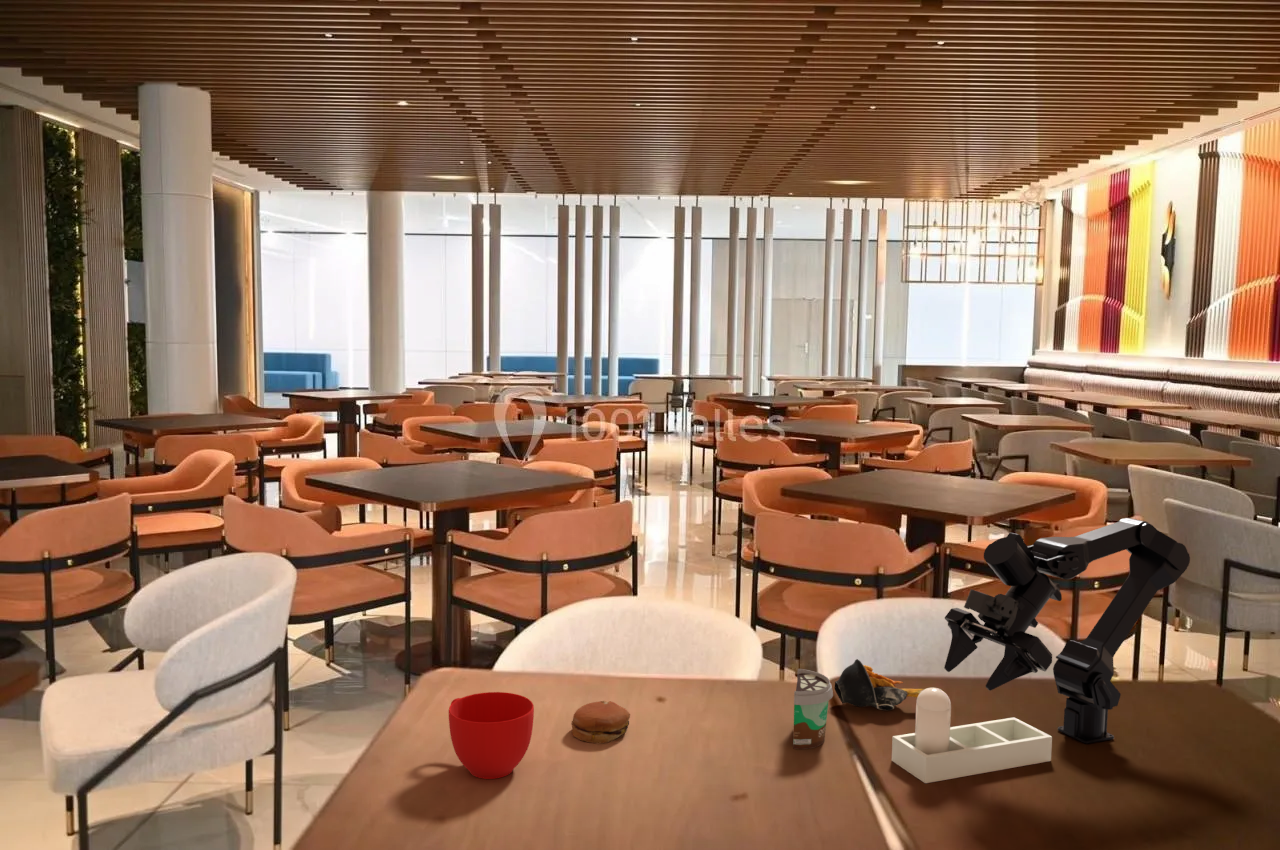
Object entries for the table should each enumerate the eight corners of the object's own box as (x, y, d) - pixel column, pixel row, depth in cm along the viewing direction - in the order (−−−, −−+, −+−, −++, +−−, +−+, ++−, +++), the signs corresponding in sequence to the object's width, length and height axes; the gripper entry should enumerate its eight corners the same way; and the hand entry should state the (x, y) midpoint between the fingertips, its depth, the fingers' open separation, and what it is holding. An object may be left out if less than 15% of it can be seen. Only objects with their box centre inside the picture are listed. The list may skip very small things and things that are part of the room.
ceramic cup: (485, 738, 167) (485, 679, 166) (550, 770, 155) (551, 707, 154) (418, 760, 158) (417, 699, 157) (481, 797, 146) (481, 730, 145)
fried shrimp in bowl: (824, 670, 189) (913, 639, 190) (846, 729, 186) (937, 696, 187) (832, 668, 180) (925, 634, 182) (855, 729, 177) (950, 695, 178)
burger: (574, 746, 165) (574, 718, 165) (569, 724, 174) (570, 698, 174) (633, 743, 166) (634, 716, 166) (626, 722, 176) (627, 696, 175)
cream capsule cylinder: (944, 754, 160) (947, 683, 159) (952, 768, 155) (955, 695, 154) (911, 752, 161) (913, 682, 160) (917, 766, 156) (920, 693, 154)
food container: (831, 755, 162) (833, 695, 161) (792, 752, 163) (794, 692, 162) (832, 726, 174) (834, 670, 173) (796, 723, 175) (797, 667, 174)
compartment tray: (1013, 740, 169) (1014, 717, 169) (1050, 760, 161) (1052, 736, 161) (891, 760, 160) (892, 736, 160) (925, 783, 153) (926, 757, 152)
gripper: (955, 560, 169) (900, 632, 165) (1042, 586, 152) (982, 667, 148) (989, 601, 173) (936, 672, 169) (1077, 631, 156) (1020, 710, 152)
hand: (966, 679), depth 160 cm, fingers open, 9 cm apart
